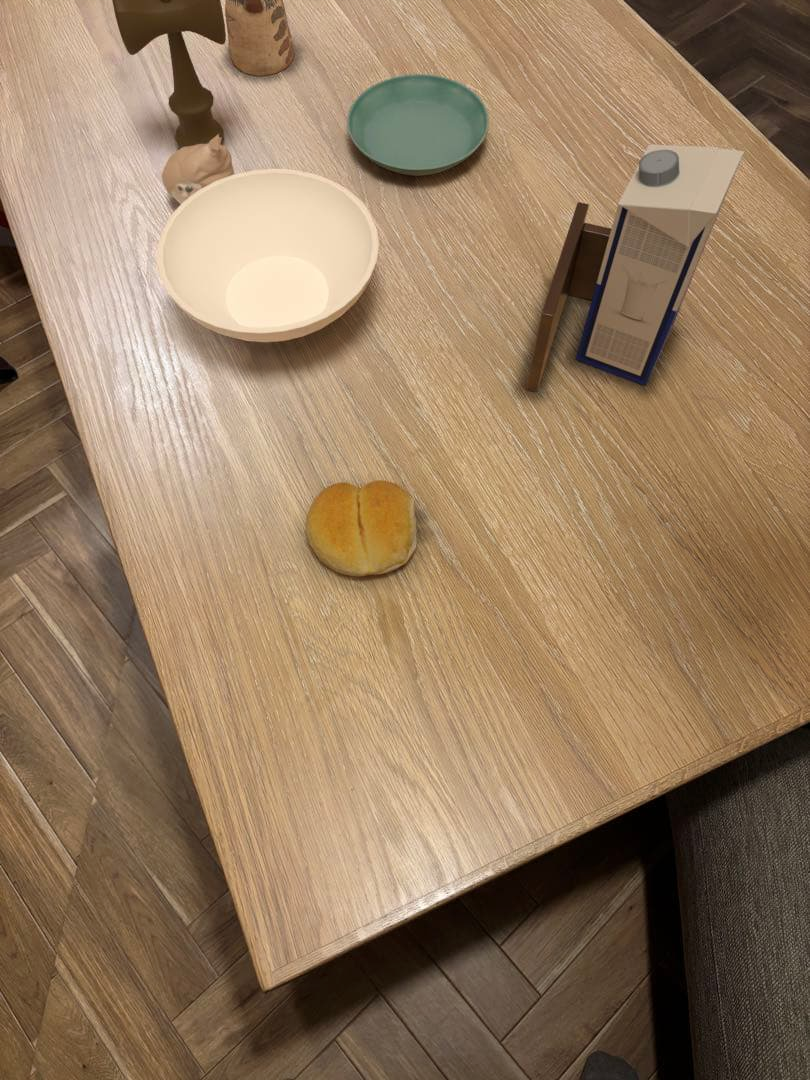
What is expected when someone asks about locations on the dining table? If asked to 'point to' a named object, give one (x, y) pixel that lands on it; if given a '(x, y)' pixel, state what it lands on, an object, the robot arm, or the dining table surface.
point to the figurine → (258, 36)
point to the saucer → (418, 123)
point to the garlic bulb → (196, 168)
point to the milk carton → (654, 255)
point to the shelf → (569, 283)
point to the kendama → (177, 55)
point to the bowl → (268, 254)
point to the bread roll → (362, 527)
